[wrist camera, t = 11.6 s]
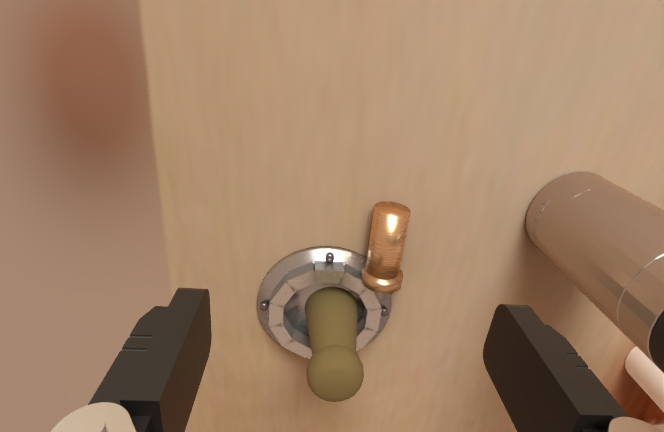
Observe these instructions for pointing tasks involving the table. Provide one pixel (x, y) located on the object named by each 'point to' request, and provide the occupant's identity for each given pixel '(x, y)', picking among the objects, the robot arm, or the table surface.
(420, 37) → the table surface
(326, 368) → the cork
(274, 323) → the flange seat
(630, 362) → the beige rectangular tower
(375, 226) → the pipe stub
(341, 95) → the table surface
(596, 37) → the table surface
